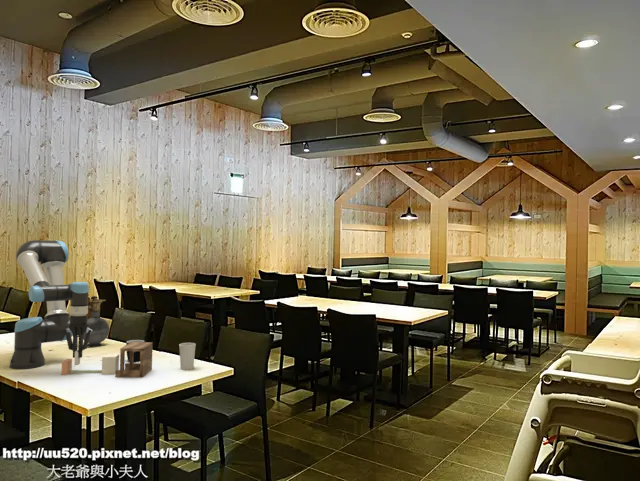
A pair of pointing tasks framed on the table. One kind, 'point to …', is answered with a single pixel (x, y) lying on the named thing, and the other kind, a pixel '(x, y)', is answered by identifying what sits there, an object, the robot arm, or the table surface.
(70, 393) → the table surface
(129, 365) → the cubby
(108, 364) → the mismatched dumbbell
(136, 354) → the mug
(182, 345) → the cup
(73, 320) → the robot arm
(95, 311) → the pitcher
